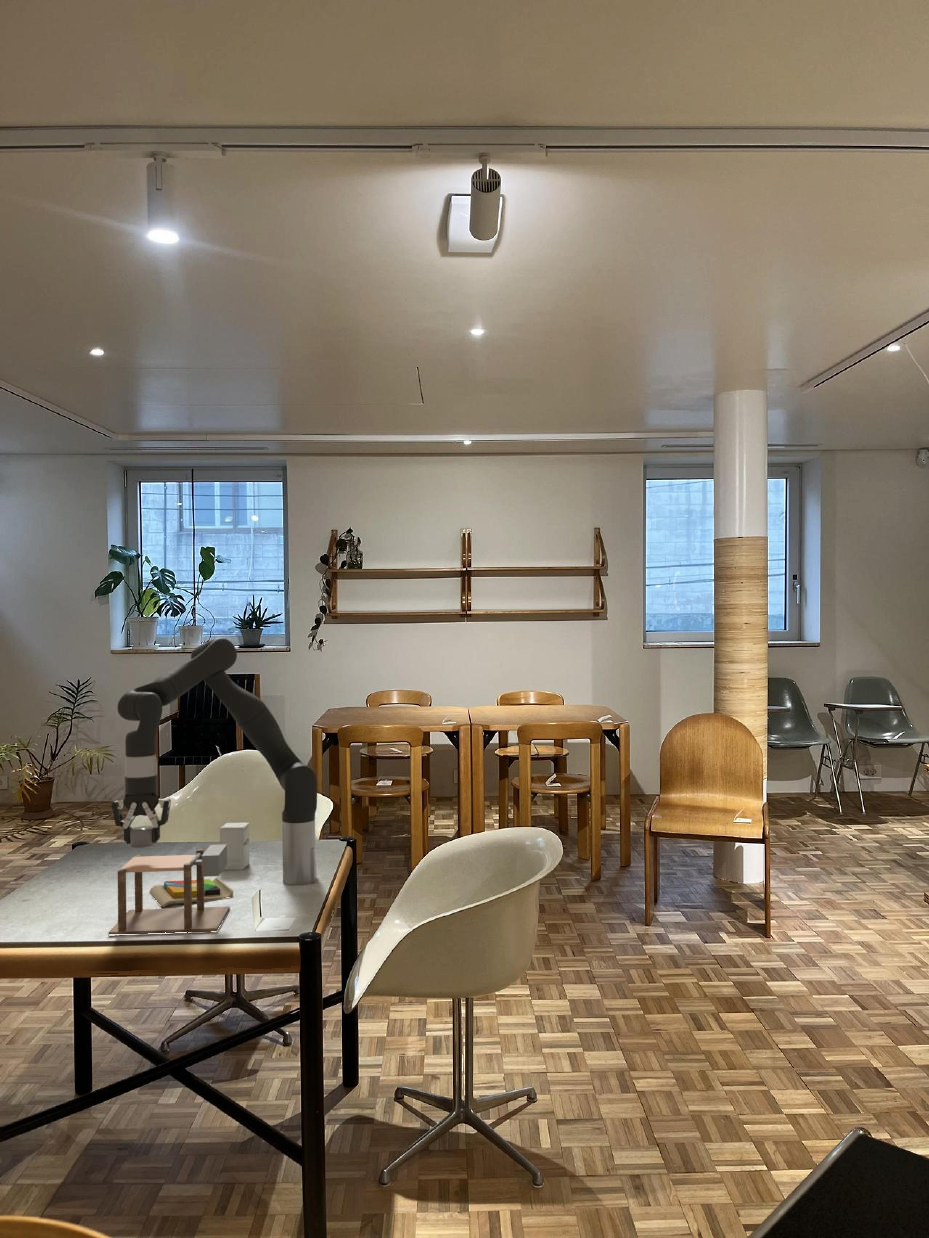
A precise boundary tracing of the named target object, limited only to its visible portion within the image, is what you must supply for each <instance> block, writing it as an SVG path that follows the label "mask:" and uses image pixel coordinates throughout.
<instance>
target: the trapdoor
mask: <svg viewBox="0 0 929 1238" xmlns="http://www.w3.org/2000/svg"><path fill="white" fill-rule="evenodd" d="M200 856H201V853H198V854H197V855H196V854H183V855H182V854H181V855H150V856H148V855H147V856H146V855H145V856H143V855H142V857H134V856H133V857H132V858H131V859H130V860H129V861H127V862H126V863H125V864H124V865H123V866H122V867H121V868H120V869H119V870H126V874H127V873H135V872H142V873H146V872H147V873H154V872H184V864H185V863H191V868H192V867H193V866H196V865H202V877H204V878H205V877H219V876H220V875H221V873H222V872H223V871H224V870H223V869H224V868H225V867H226V865H227V844H225V845H220V844H210V845H209V846H208V848H207V849H206V850H205V851H204V854H203V855H202V860H198V859H199V857H200Z"/></svg>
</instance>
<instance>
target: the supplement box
mask: <svg viewBox="0 0 929 1238" xmlns="http://www.w3.org/2000/svg"><path fill="white" fill-rule="evenodd" d="M225 844H227V865H226V867H225V868H224V869H223V871H224V870H225V871H226V870H231V871H232V870H241V871H242V870H243V871H244V869H245V868H246V867H247V866H248V865H249V864H250V822H226V823H225V824H223V825H222V826H221V827H220V828H219V845H225Z"/></svg>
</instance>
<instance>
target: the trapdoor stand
mask: <svg viewBox="0 0 929 1238" xmlns="http://www.w3.org/2000/svg"><path fill="white" fill-rule="evenodd" d="M204 852H205V851H204V848H197V849H196V854H195V855H197V854H198V853H201V856H200V857H199V859H198V860H202V855H203V854H204ZM133 857H143V854H135V856H133ZM195 867H196V880H197V902H196V907H193V902H192V880H193V879H192V877H193V876H192V867H191V863H185V864H184V871H183V881H184V903H183V907H177V908H176V907H175V908H174V907H173V908H146V909H145V908H143V907H144V905H143V903H144V902H143V901H144V900H143V899H144V895H143V894H144V893H143V891H144V889H143V872H134V909H129V910H128V911H127V873H126V870H120V869H119V870H117V922H116V924H115V925H113V927H112V928H111V929H110V930H109V931H108V935H109V934H148V933H165V932H166V933H175V932H187V933H188V932H211V931H217V930H218V928H219V926H220V925H221V924H223V923H222V921H223V920H224V921H225V919H226V918H225V916H226V915H228V914H229V913H228V912H230V911H231V907H230V906H229V905H227V906H206V907H205V901H204V879H205V877H202V865H195ZM229 910H230V911H229ZM227 913H228V914H227ZM226 917H227V916H226ZM224 918H225V919H224ZM224 921H223V922H224ZM221 926H222V925H221ZM221 926H220V927H221ZM219 929H220V928H219ZM218 931H219V930H218Z"/></svg>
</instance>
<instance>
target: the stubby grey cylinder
mask: <svg viewBox="0 0 929 1238" xmlns="http://www.w3.org/2000/svg"><path fill="white" fill-rule="evenodd" d="M152 828H153V825H142V826H141V825H139V826H134V827H132V828H131V829H130V844H129V847H131V848H135V849H140V848H148V847H152V846H154V845H155V843H153V836H152Z"/></svg>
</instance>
